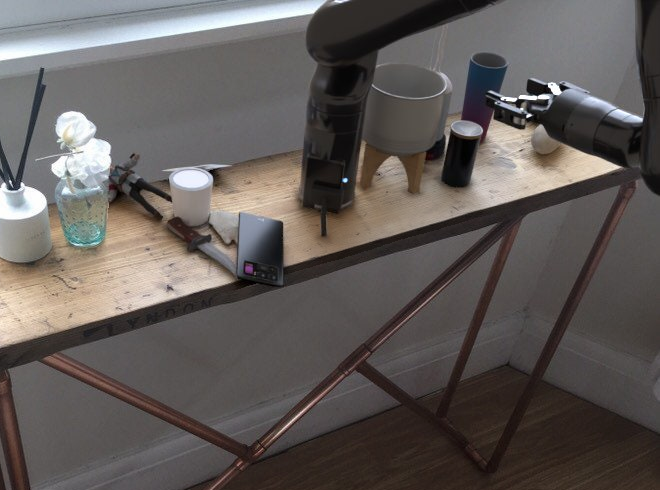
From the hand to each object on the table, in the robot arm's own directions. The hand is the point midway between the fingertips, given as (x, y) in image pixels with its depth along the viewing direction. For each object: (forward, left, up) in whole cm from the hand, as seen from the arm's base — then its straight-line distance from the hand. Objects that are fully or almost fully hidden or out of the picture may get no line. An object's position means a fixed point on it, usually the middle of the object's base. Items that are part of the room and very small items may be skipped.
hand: (507, 90), depth 137 cm
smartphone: (-28, +30, -18) cm, 45 cm away
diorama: (-9, +48, -19) cm, 52 cm away
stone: (+25, -10, -20) cm, 34 cm away
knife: (-27, +38, -20) cm, 50 cm away
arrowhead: (-26, +33, -19) cm, 46 cm away
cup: (+23, +4, -20) cm, 31 cm away
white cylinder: (-22, +44, -20) cm, 53 cm away
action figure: (-24, +48, -18) cm, 56 cm away
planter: (+3, +16, -20) cm, 26 cm away
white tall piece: (+14, +12, -20) cm, 28 cm away
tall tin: (+6, +5, -20) cm, 22 cm away
